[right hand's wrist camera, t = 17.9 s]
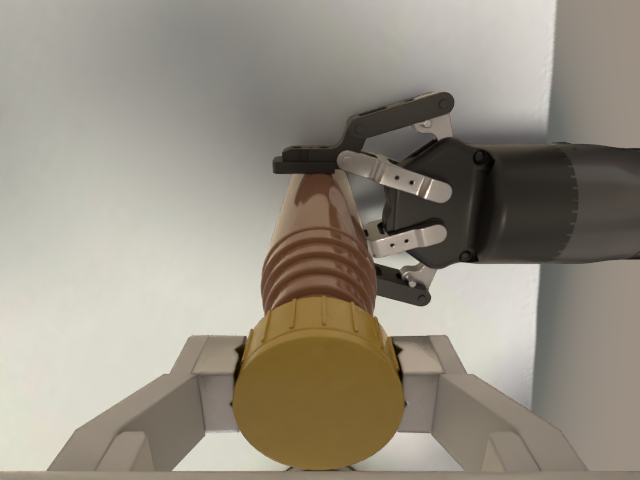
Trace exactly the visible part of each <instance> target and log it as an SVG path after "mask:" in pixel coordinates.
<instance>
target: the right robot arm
mask: <svg viewBox="0 0 640 480" xmlns="http://www.w3.org/2000/svg"><path fill="white" fill-rule="evenodd" d="M390 337H391V340H392V344H393V347H394V351H395V354H396V358H397V361H398V365H399V368H400V371H398V373H399V377H400V381H401V384H402V388H403V392H404V400H405V405H404V413H403V417H402V421H401V423H400V425H399V428H398V430H397V431H398V432H409V433H432V434H431V435H432V436H433V437H434V438H435V439H436V440H437V441H438V442H439V443H440V444H441V445H442V447H443V448H444V449H445V450H446V451H447V452H448V453H449V454H450V455H451V456H452V457H453V458H454V459H455V460H456V461H457V463H458V464H459V465H460V466H461V467H462V468H463V469H464V470H465V471H172V470H173V469H174V468H175V467H176V466H177V464H178V463H179V462H180V461H181V460H182V459H183V458H184V457H185V456H186V455H187V454H188V453H189V452H190V451H191V450H192V449H193V448H194V447H195V445H196V444H197V443H198V442H199V441H200V440H201V439H202V438H203V437H204V436H205V433H227V432H239V431H240V430H239V427H238V425H237V423H236V420H235V417H234V413H233V406H232V400H233V392H234V388H235V384H236V380H237V377H238V373H239V370H240V363H241V360H242V357H243V354H244V350H245V347H246V343H247V340H248V339H247V337H246V336H222V335H210V336H209V335H192V336H190V337H189V338H188V340H187V342H186V344H185V345H184V347H183V349H182V351H181V353H180V355H179V357H178V359H177V360H176V362H175V364H174V366H173V368H172V370H171V372H170V374H163V375H162V376H160V377H158V378H157V379H155V380H154V381H152V382H151V383H149V384H147V385H146V386H144V387H143V388H141V389H140V390H138V391H136V392H135V393H133V394H132V395H130V396H128V397H127V398H125V399H124V400H122V401H121V402H119V403H117V404H116V405H114V406H113V407H111V408H110V409H108V410H106V411H105V412H103V413H102V414H100V415H98V416H97V417H95V418H94V419H92V420H91V421H89V422H87V423H86V424H84V425H83V426H81V427H80V428H78V429H76V430H75V432H74V433H73V434H72V436H71V437H70V439H69V440H68V441H67V443H66V444H65V446H64V447H63V448H62V450H61V451H60V453H59V454H58V455H57V457H56V458H55V459H54V461H53V462H52V464H51V465H50V466H49V468H48V469H47V471H0V480H640V471H589V470H588V469H587V467H586V466H585V464H584V463H583V461H582V460H581V459H580V457H579V456H578V454H577V453H576V451H575V450H574V449H573V447H572V446H571V444H570V443H569V442H568V440H567V439H566V437H565V436H564V434H563V433H562V432H561V430H559V429H558V428H556V427H555V426H553V425H551V424H550V423H548V422H547V421H545V420H544V419H542V418H541V417H539V416H537V415H536V414H534V413H533V412H531V411H530V410H528V409H527V408H525V407H523V406H522V405H520V404H519V403H517V402H516V401H514V400H512V399H511V398H509V397H508V396H506V395H505V394H503V393H502V392H500V391H498V390H497V389H495V388H494V387H492V386H491V385H489V384H488V383H486V382H484V381H483V380H481V379H480V378H478V377H477V376H475V375H473V374H467V372H466V370H465V369H464V367H463V365H462V363H461V361H460V359H459V357H458V355H457V353H456V351H455V350H454V348H453V346H452V344H451V342H450V340H449V338H448V337H447V336H446V335H428V336H390Z"/></svg>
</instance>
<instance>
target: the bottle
mask: <svg viewBox="0 0 640 480" xmlns="http://www.w3.org/2000/svg"><path fill="white" fill-rule="evenodd" d="M261 295H262V301H263V309H264V315H265V316H266V315H267V312H268V311H269V310H270V311H273V310H274V309H275V308H277V307H279V306H281V305H283V304H285V303H288V302H291V301H293V299H295V298H296V300H298V299H302V298H309V297H322V296H326V297H329V298H335V299H340V300H344V301H346V302H349V303H351V302H354V304H355V305H356V306H358V307H360V308H362V309H363V310H365V311H366V312H368V313H369V314H370V315H371V316H373V312H374V308H375V299H376V295H377V281H376V269H375V265H374V261H373V258H372V255H371V252H370V248H369V245H368V242H367V239H366V236H365V232H364V229H363V226H362V223H361V220H360V216H359V213H358V210H357V207H356V204H355V201H354V197H353V194H352V191H351V188H350V185H349V181H348V178H347V175H346V172H345V171H343V170H335V174H292V177H291V180H290V183H289V186H288V189H287V192H286V195H285V198H284V202H283V205H282V208H281V211H280V214H279V217H278V220H277V223H276V227H275V230H274V233H273V236H272V239H271V242H270V245H269V248H268V251H267V255H266V258H265V261H264V264H263V268H262V279H261Z"/></svg>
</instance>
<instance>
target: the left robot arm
mask: <svg viewBox="0 0 640 480" xmlns="http://www.w3.org/2000/svg"><path fill="white" fill-rule="evenodd" d="M453 107H454V98H453V96H452V95H451V94H449V93H447V92H429V93H426V94H423V95H419V96H416V97H413V98H409V99H406V100H403V101H400V102H396V103H393V104H390V105H386V106H383V107H380V108H377V109H373V110H370V111H367V112H363V113H360V114H357V115H354V116H351V117H350V118H349V119H348V121H347V124H346V128H345V131H344V133H343V136H342V138H341V140H340V141H339V142H338V143H337V144H335V145H332V146H291V147H288V148H286V149H284V150H283V152H282V156H278V157H275V158H274V159H273V173H276V174H335V170H343V171H346V172H350V173H353V174H356V175H359V176H362V177H365V178H369V179H371V180H373V181H375V182H377V183H380V184H383V185H384V191H385V196H386V204H385V206H384V209H383V214H382V219H380V220H377V221H374V222H370V223H368V224H366V225H365V226H364V227H363V229H364V232H365V236H366V239H367V242H368V245H369V248H370V252H371V255H372V257H375V258H381V257H385V256H389V255H392V254H396V253H399V252H403V251H405V252H407V253H408V254H410V255H411V256H412V257H414V258H415V259H417V260H418V261H419V262H420V263H419V264H417V265H415V266H403V267H402V268H401V269H400V270H398V269H394V268H391V267H387V266H383V265H379V264H376V263H374V265H375V269H376V281H377V295H378V296H382V297H386V298H390V299H394V300H397V301H401V302H405V303H409V304H413V305H417V306H425V305H427V304H428V303H429V302H430V300H431V295H430V293H429V291H428V289H429V286H430V284H431V282H432V280H433V277H434V275H435V273H436V271H437V269H442V268H445V267H447V266H449V265H451V264H454V263H459V262H466V263H474V264H583V263H593V262H600V261H607V260H620V259H640V148H615V147H608V146H602V145H591V144H570V143H566V142H556V143H552V144H468V143H465V142H463V141H462V140H460V139H458V138H455V137H453V133H452V126H451V120H450V114H449V112H451V110H452V109H453ZM409 125H411V126H412V128H413V129H414V130H416V131H418V132H420V133H431V134H432V136H433V138H434V139H433V140H432V141H430V142H429V143H427V144H426V145H424V146H423V147H421V148H420V149H419V150H417V151H416V152H414V153H413V154H411V155H410V156H408V157H407V158H406V159H404V160H403V161H398V160H395V159H392V158H389V157H386V156H382V155H379V154H376V153H370V152H367V151H364V150H362V147H363V144H364V142H365V139H366V138H369V137H372V136H376V135H379V134H382V133H386V132H389V131H392V130H396V129H399V128H403V127H406V126H409ZM288 471H353V470H352V469H351V468H349V467H347V466H346V467H342V468H337V469H329V470H308V469H300V468H295V467H292V468H291V469H289V470H288Z"/></svg>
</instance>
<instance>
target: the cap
mask: <svg viewBox="0 0 640 480" xmlns="http://www.w3.org/2000/svg"><path fill="white" fill-rule="evenodd" d="M398 371H400V368H399V365H398V361H397V358H396V354H395V351H394V347H393V344H392V340H391V337H388V336H387V334H386V332H385V331H384V329H383V327H382V326H381V325H380V324H379V322H378V319H377V317H376V316H375V317H373V316H371V315H370V314H369V313H368V312H366V311H365V310H363V309H362V308H360V307H358V306H356V305H355V304H354V302H351V303H349V302H346V301H344V300H340V299H335V298H329V297H326V296H322V297H309V298H302V299H298V300H296V298H295V299H293V301H291V302H288V303H285V304H283V305H281V306H279V307H277V308H275V309H274V310H273V311H270V310H269V311H268V312H267V315H266V316H265V317H264V318H263V319H261V320H260V322H259V323H258V324H257V325H256V326H255V328H254V329H251V330H250V333H249V336H248V340H247V343H246V347H245V350H244V354H243V357H242V360H241V363H240V370H239V373H238V377H237V380H236V384H235V388H234V392H233V400H232V406H233V413H234V417H235V420H236V423H237V425H238V427H239V430H240V431H241V433H242V434H243V436H244V437H245V438H246V440H247V441H248V442H249V443H250V444H251V445H252V446H253V447H254V448H255V449H257V450H258V451H259V452H261V453H262V454H263V455H265V456H267V457H268V458H270V459H272V460H274V461H276V462H279V463H281V464H284V465H287V466H291V467H295V468H300V469H308V470H329V469H337V468H342V467H346V466H350V465H353V464H356V463H358V462H361V461H363V460H365V459H367V458H369V457H370V456H372V455H374V454H375V453H377V452H378V451H379V450H381V449H382V448H383V447H384V446H385V445H386V444H387V443H388V442H389V441H390V440H391V438H392V437H393V436H394V434H395V433H396V431H397V430H398V428H399V425H400V423H401V421H402V417H403V413H404V405H405V400H404V392H403V388H402V384H401V381H400V377H399V373H398Z"/></svg>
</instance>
